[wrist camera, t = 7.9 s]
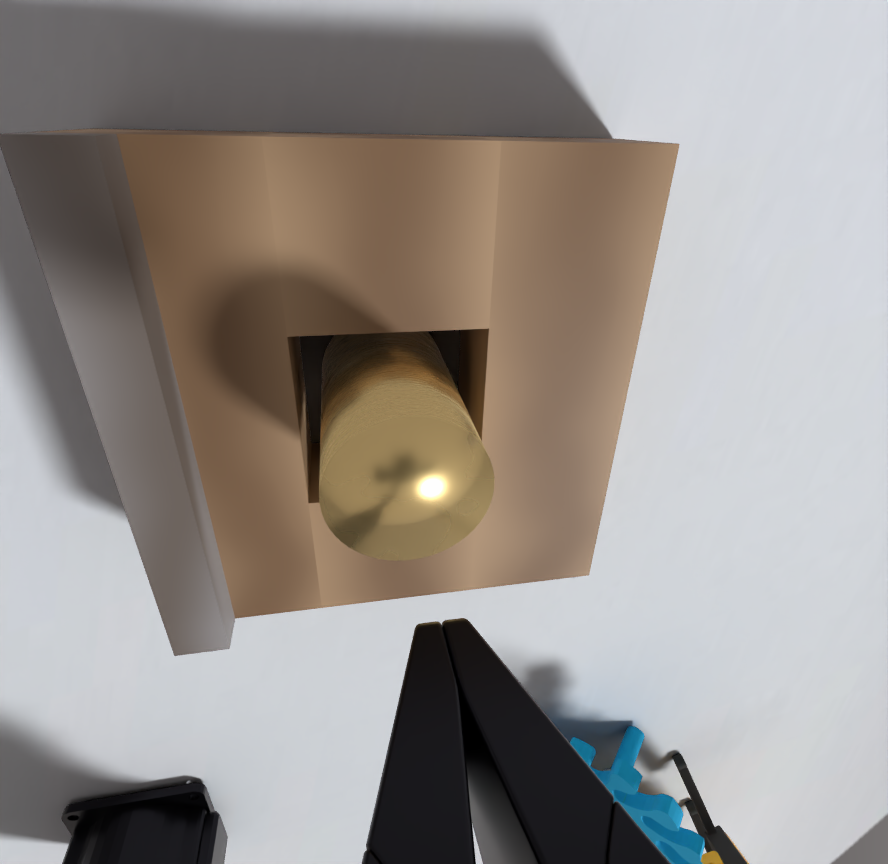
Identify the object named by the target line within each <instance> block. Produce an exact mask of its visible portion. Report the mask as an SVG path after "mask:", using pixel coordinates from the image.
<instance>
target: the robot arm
mask: <svg viewBox="0 0 888 864" xmlns="http://www.w3.org/2000/svg"><path fill="white" fill-rule="evenodd" d="M62 821H63V822H64V824H65V825H66V827H67V829H68V830H69V832H70V833H71V835H72V838H71V841H70V843H69V846H68V849H67V852H66V855H65V857H64V860H63V863H62V864H224V860H225V853H226V846H227V838H228V837H227V834H226V831H225V828H224V825H223V822H222V820H221V817H220V815H219V814H218V813H217V812H216V811H215V810H214V807H213V805H212V802H211V799H210V796H209V794H208V791H207V788H206V786H205V785H203V784H200V783H193V784H187V785H181V786H175V787H169V788H163V789H157V790H151V791H145V792H139V793H134V794H128V795H122V796H116V797H110V798H104V799H98V800H92V801H86V802H80V803H74V804H70V805H68V806H66V808H65V810H64V812H63V815H62ZM472 824H473V828H474V831H475V835H476V839H477V842H478V846H479V850H480V854H481V857H482V861H483V864H671V863H670V862H669V861H668V859H667V858H666V857H665V856H664V855H663V854H662V853H661V851H660V850H659V849H658V848H657V847H656V846H655V844H654V843H653V842H652V841H651V840H650V839H649V838H648V836H647V835H646V834H645V833H644V832H643V831H642V830H641V828H640V827H639V826H638V825H637V824H636V822H635V821H634V820H633V819H632V818H631V816H630V815H629V814H628V813H627V811H626V810H625V809H624V808H623V807H622V805H621V804H620V803H619V802H618V801H615V802H614V797H613V795H612V794H611V792H610V791H609V790H608V789H607V788H606V786H605V785H604V784H603V783H602V782H601V780H600V779H599V778H598V777H597V775H596V774H595V773H594V772H593V771H592V769H591V768H590V767H589V766H588V765H587V763H586V762H585V761H584V760H583V759H582V757H581V756H580V755H579V754H578V752H577V751H576V750H575V749H574V748H573V746H572V745H571V744H570V743H569V742H568V740H567V739H566V738H565V737H564V736H563V734H562V733H561V732H560V731H559V729H558V728H557V727H556V726H555V725H554V723H553V722H552V721H551V720H550V719H549V717H548V716H547V715H546V714H545V713H544V711H543V710H542V709H541V708H540V706H539V705H538V704H537V703H536V702H535V700H534V699H533V698H532V697H531V696H530V694H529V693H528V692H527V691H526V690H525V688H524V687H523V686H522V685H521V683H520V682H519V681H518V680H517V679H516V677H515V676H514V675H513V674H512V673H511V671H510V670H509V669H508V668H507V667H506V665H505V664H504V663H503V662H502V660H501V659H500V658H499V657H498V656H497V654H496V653H495V652H494V651H493V650H492V648H491V647H490V646H489V645H488V644H487V642H486V641H485V640H484V639H483V637H482V636H481V635H480V634H479V633H478V631H477V630H476V629H475V628H474V627H473V625H472V624H471V623H470V622H469V621H468V620H467V619H465V618H460V619H452V620H445V621H444V622H443V623H442V625H441V624H440V623H439V622H429V623H422V624H418V625H417V626H416V628H415V631H414V636H413V640H412V644H411V649H410V653H409V658H408V662H407V667H406V671H405V675H404V680H403V684H402V689H401V693H400V698H399V702H398V706H397V711H396V715H395V720H394V724H393V729H392V733H391V737H390V742H389V746H388V751H387V755H386V760H385V764H384V768H383V773H382V777H381V782H380V786H379V791H378V795H377V800H376V804H375V808H374V813H373V817H372V822H371V826H370V831H369V835H368V839H367V844H366V848H367V851H365V852H364V856H363V860H362V864H476V862H475V851H474V841H473V830H472Z"/></svg>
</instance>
